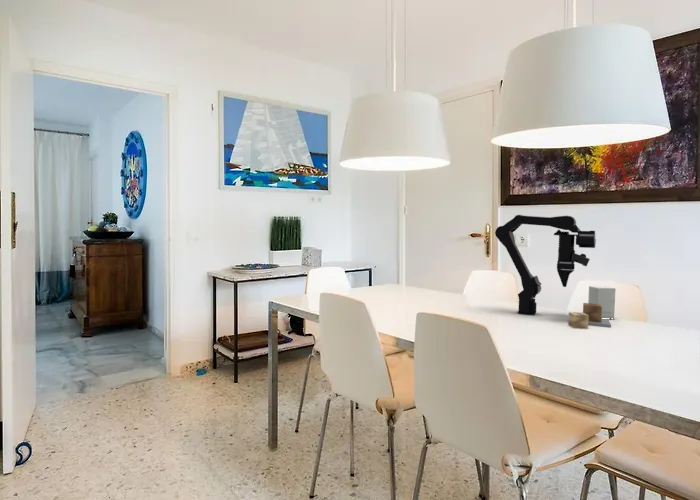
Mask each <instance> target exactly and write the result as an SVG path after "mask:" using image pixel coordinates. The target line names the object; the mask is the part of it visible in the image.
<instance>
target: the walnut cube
mask: <svg viewBox="0 0 700 500" xmlns="http://www.w3.org/2000/svg"><path fill="white" fill-rule="evenodd" d="M582 305H583V306H582V313H585V314H587V315H589V318H588V321H591V322H601V314H602V306H601V304H591V303H588V302H583V304H582Z"/></svg>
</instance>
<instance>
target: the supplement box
mask: <svg viewBox="0 0 700 500" xmlns="http://www.w3.org/2000/svg"><path fill="white" fill-rule="evenodd" d="M587 300H588V302H587V303H591V304H601V306H602V314H601V318H613V319H612V320H615V306H616V305H615V304H616V288H614V287H611V286H606V285H602V286H601V285H590V286H588V299H587Z"/></svg>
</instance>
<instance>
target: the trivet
mask: <svg viewBox="0 0 700 500" xmlns="http://www.w3.org/2000/svg"><path fill="white" fill-rule="evenodd" d="M588 326H590V327H591V326H592V327H604V328H605V327H606V328H612V323H611V321H610V319H602V318H601V322H591V321H588Z"/></svg>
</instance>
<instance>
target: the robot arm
mask: <svg viewBox="0 0 700 500" xmlns="http://www.w3.org/2000/svg"><path fill="white" fill-rule="evenodd" d="M522 225H529V226H530V225H532V226H544V227H545V226H546V227H552V228H555V229H557V231H555V232H554V233H553V236H558V247H557V248H558V250H557V251H558V255H557V263H556V271H557V274H558V277H559V279H560V282H561V285H562V288H566V287H567V285H568V282H569V278H570V275H571V274H572V273H573V272H575V266H576V265H575V263H578V264H581V265H582V266H583V267H587V266H588V264H589V262H590V258H588V257H587V254H585V253H581V254H578V253H576V250H575V245H576V246H578V248H582V249H583V248H585V249H586V248H588V249H595V248H596V242H597V239H596V230H581V229H580V228H579V227H578V225H577V221H576V219H575V217H573V216H570V215H558V216H557V215H556V216H550V217H547V216H535V215H533V216H532V215H522V214H517V215H516V214H515V216H514V217H513V218H512V219H510V220H508V222H506V223H504V225H500V226H498V227H497V228H496V229H495V232H494V234H495V237H496V238H497V239H498V241H499V243H501V245H502V246H504V248H505V249H506V251H507V253H508V255H509V257H510V259H511V261H512V263H513V264H514V267H515V269H516V270H517V272H518V275H519V277H520V280H521V286H522V291H520V292H519V293H517V296H518V311H517V314H521V315H535V314H536V313H537V305H538V304H537V302H536V297H537V295H539V294H540V292H541V291H542V286H541V285H542V283H541V281H540V279H539V277H538V275H535V276H534V275H532V273H531V272H530V270H529V268H528V266H527V264H526V262H525V260H524V258H523V256H522V253H521V252H520V250H519V249H518V246H517V244H516V240H515V239H516V238H515V235H514V232H516V230H518V229H519V228H520V227H521V226H522ZM561 230H563V231H561ZM571 233H574V234H571Z"/></svg>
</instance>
